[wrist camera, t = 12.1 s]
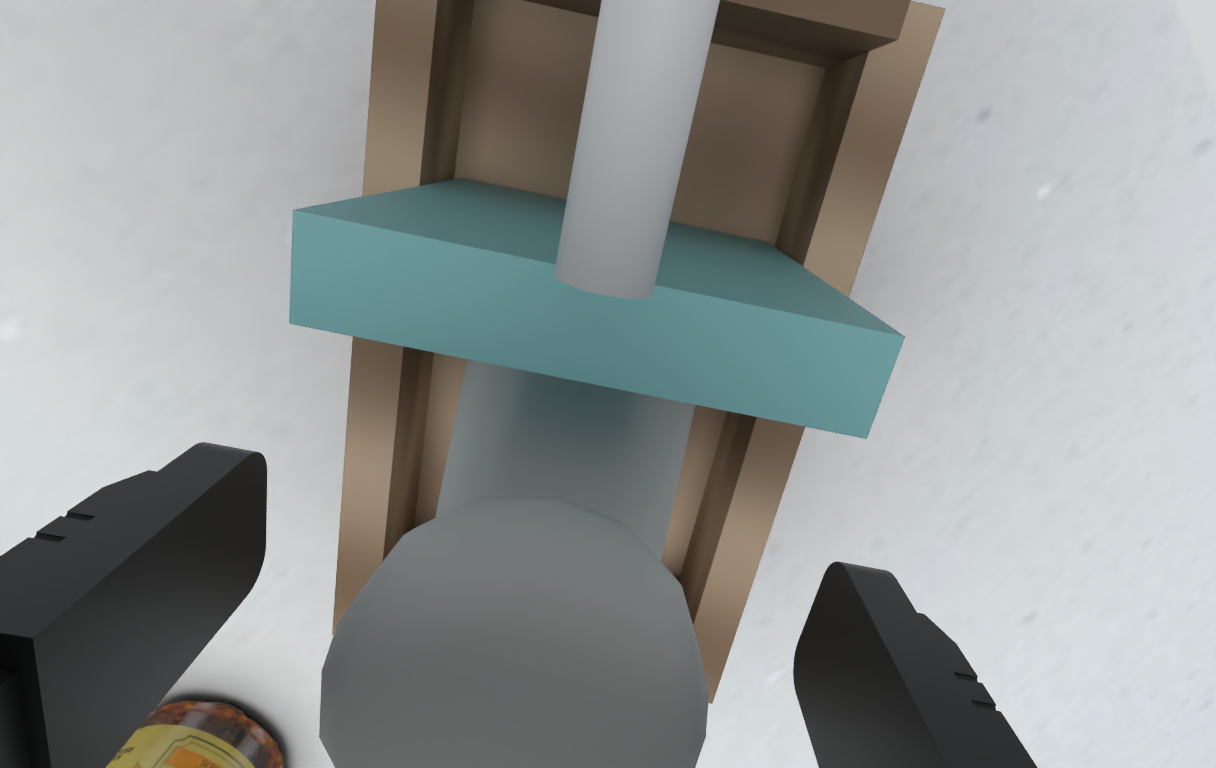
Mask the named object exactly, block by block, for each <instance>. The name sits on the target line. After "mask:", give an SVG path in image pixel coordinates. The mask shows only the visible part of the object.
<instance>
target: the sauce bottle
mask: <svg viewBox="0 0 1216 768" xmlns="http://www.w3.org/2000/svg"><path fill="white" fill-rule="evenodd" d="M106 768H284V763H283V754H282V752H281V751H280V750H279V749H278V743H277V741H275V740H274V739H273V738H272V737H271V736H270V734H269V733H268V732H267V731H265V730H264V729H263V728H262V727H261V726H260V725H259V724H258V723H256V722H255V721H254V720H252V719H250V718H248V717H247V716H246V715H245V714H244V712H243V711H242V710H239V709H237V708H236V707H234V706H233V705H229V704H226V703H222V702H203V701H187V700H184V701H179V702H175V703H170V704H167V705H165V706H163V707H161V708H159V709H157V710H155V711H153V712H151V713H150V714H149V716H148V717H147V718H146V719H145V720H144V722H143V723H142V724H141V725H140V727H139V728H138V729H137V730H136V731H135V733H134V734H133V735H132V736H131V737H130V739H129V740H128V741H127V742H126V744H125V745H124V746H123V747H122V748H121V750H120V751H119V752H118V753H117V755H116V756H115V757H114V758H113V759H112V761H111V762H110V763H109V764H108V765H107V767H106Z"/></svg>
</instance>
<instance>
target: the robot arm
mask: <svg viewBox="0 0 1216 768" xmlns="http://www.w3.org/2000/svg"><path fill="white" fill-rule="evenodd" d="M266 505H267V465H266V460H265V458H264V456H263V455H262V454H261V453H259V452H254V451H249V450H243V449H238V448H233V447H227V446H222V445H217V444H211V443H206V442H201V443H198V444H196V445H194V446H193V447H191V448H190V449H188V450H187V451H186V452H184V453H183V454H182V455H180V456H179V457H177V458H176V459H175V460H173V461H172V462H170V463H169V464H168V465H166V466H165V467H163V468H162V469H161V470H159V471H158V472H155V471H150V470H148V471H146V472H143V473H140V474H138V475H135V476H132V477H130V478H127V479H124V480H121V481H119V482H116V483H113V484H111V485H108V486H105V487H103V488H101V489H100V490H98V491H97V492H95V493H94V494H92V495H91V496H89V497H88V498H86V499H85V500H83V501H82V502H80V503H79V504H77V505H76V506H75V507H73V508H72V509H70V510H69V511H67V515H66V516H65V517H62V516H60V517H58V518H57V519H55V520H54V521H52V522H51V523H49V524H48V525H46V526H45V527H43V528H42V529H40V530H39V531H37V534H36V536H35V537H34V538H29V537H28V538H27V539H25V540H24V541H22V542H21V543H19V544H18V545H16V546H15V547H13V548H12V549H11V550H9V551H8V552H6V553H5V554H3V555H2V556H0V768H106V767H107V765H108V764H109V763H110V762H111V761H112V759H113V758H114V757H115V756H116V755H117V753H118V752H119V751H120V750H121V748H122V747H123V746H124V745H125V744H126V742H127V741H128V740H129V739H130V737H131V736H132V735H133V734H134V733H135V731H136V730H137V729H138V728H139V727H140V725H141V724H142V723H143V722H144V720H145V719H146V718H147V717H148V716H149V714H150V713H151V712H152V711H153V710H154V708H155V707H156V706H157V705H158V703H159V702H160V701H161V700H162V699H163V697H164V696H165V695H166V694H167V692H168V691H169V690H170V689H171V688H172V686H173V685H174V684H175V683H176V682H177V680H178V679H179V678H180V677H181V675H182V674H183V673H184V672H185V671H186V669H187V668H188V667H189V666H190V665H191V663H192V662H193V661H194V660H195V658H196V657H197V656H198V655H199V654H200V652H201V651H202V650H203V649H204V648H205V646H206V645H207V644H208V643H209V641H210V640H211V639H212V638H213V637H214V635H215V634H216V633H217V632H218V630H219V629H220V628H221V627H222V626H223V624H224V623H225V622H226V621H227V620H228V618H229V617H230V616H231V615H232V613H233V612H234V611H235V610H236V609H237V607H238V606H239V605H240V604H241V603H242V601H243V600H244V599H245V598H246V596H247V595H248V594H249V592H250V591H251V589H252V588H253V586H254V584H255V582H256V580H257V578H258V576H259V573H260V571H261V568H262V565H263V561H264V557H265V550H266ZM793 674H794V685H795V691H796V695H797V698H798V701H799V704H800V707H801V711H802V714H803V717H804V720H805V724H806V727H807V730H808V733H809V737H810V740H811V743H812V746H813V750H814V753H815V756H816V759H817V762H818V766H819V768H1037V766H1036V765H1035V763H1034V762H1033V760H1032V759H1031V757H1030V756H1029V754H1028V753H1027V751H1026V749H1025V748H1024V746H1023V745H1022V743H1021V742H1020V740H1019V739H1018V737H1017V736H1016V734H1015V733H1014V731H1013V730H1012V728H1011V727H1010V725H1009V724H1008V722H1007V720H1006V719H1005V717H1004V716H1003V714H1002V713H1001V712H1000V711H996V709H995V706H996V704H995V702H994V701H993V699H992V698H991V696H990V695H989V693H988V691H987V690H986V688H985V687H984V685H983V684H982V683H979V682H977V677H978V676H977V675H976V673H975V672H974V670H973V669H972V667H971V666H970V664H969V663H968V661H967V659H966V658H965V656H964V655H963V653H962V652H961V650H960V649H959V647H958V646H957V644H956V643H955V642H954V641H953V640H952V639H950V638H949V637H948V636H947V635H946V634H945V633H944V632H943V631H942V630H941V629H940V628H939V627H938V626H936V625H935V624H934V623H933V622H932V621H931V620H930V619H929V618H928V617H927V616H926V615H925V614H921V613H917V612H916V610H915V609H914V607H913V605H912V604H911V602H910V601H909V599H908V597H907V596H906V594H905V592H904V591H903V589H902V588H901V586H900V584H899V583H898V581H897V579H896V578H895V577H894V575H893V574H892V573H891V572H889V571H886V570H880V569H875V568H870V567H864V566H859V565H853V564H848V563H843V562H833V563H832V564H831V565H830V566H829V567H828V568H827V570H826V572H825V574H824V576H823V579H822V581H821V584H820V587H819V589H818V592H817V594H816V597H815V600H814V602H813V605H812V607H811V610H810V613H809V615H808V618H807V620H806V623H805V626H804V628H803V631H802V633H801V636H800V639H799V641H798V644H797V647H796V651H795V657H794V669H793Z"/></svg>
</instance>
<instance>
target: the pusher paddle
mask: <svg viewBox="0 0 1216 768" xmlns="http://www.w3.org/2000/svg"><path fill="white" fill-rule="evenodd" d="M719 2H720V0H602V1H601V7H600V13H599V18H598V24H597V30H596V35H595V41H594V47H593V53H592V58H591V64H590V70H589V76H588V81H587V87H586V93H585V99H584V104H583V110H582V116H581V122H580V127H579V133H578V139H577V145H576V150H575V156H574V162H573V168H572V173H571V179H570V185H569V191H568V196H567V200H566V199H562V198H557V197H552V196H548V195H543V194H538V193H533V192H529V191H524V190H519V189H514V188H510V187H505V186H500V185H495V184H491V183H486V182H481V181H477V180H472V179H467V178H459V179H453V180H448V181H443V182H438V183H432V184H427V185H422V186H417V187H411V188H406V189H401V190H396V191H390V192H385V193H380V194H375V195H369V196H364V197H359V198H354V199H348V200H343V201H338V202H333V203H327V204H322V205H317V206H312V207H306V208H301V209H296V210H293V230H292V260H291V290H290V319H289V323H290V324H295V325H300V326H305V327H310V328H315V329H320V330H325V331H330V332H335V333H340V334H345V335H350V336H355V337H360V338H365V339H370V340H375V341H380V342H385V343H390V344H395V345H400V346H405V347H410V348H415V349H420V350H425V351H430V352H435V353H440V354H445V355H450V356H455V357H460V358H465V359H470V360H475V361H480V362H485V363H490V364H495V365H500V366H505V367H510V368H515V369H520V370H525V371H530V372H535V373H540V374H545V375H550V376H555V377H560V378H565V379H570V380H575V381H580V382H585V383H590V384H595V385H600V386H605V387H610V388H615V389H620V390H625V391H630V392H635V393H640V394H645V395H650V396H655V397H660V398H665V399H670V400H675V401H680V402H685V403H690V404H695V405H700V406H705V407H710V408H715V409H720V410H725V411H730V412H735V413H740V414H745V415H750V416H755V417H760V418H765V419H770V420H775V421H780V422H785V423H790V424H795V425H800V426H805V427H810V428H815V429H820V430H825V431H830V432H835V433H840V434H845V435H850V436H855V437H860V438H865V439H867V437H868V434H869V431H870V429H871V426H872V423H873V421H874V418H875V415H876V413H877V410H878V407H879V404H880V402H881V399H882V396H883V394H884V391H885V388H886V386H887V383H888V380H889V378H890V375H891V372H892V370H893V367H894V364H895V362H896V359H897V356H898V354H899V351H900V348H901V346H902V343H903V340H904V338H905V336H903V335H902V334H900V333H899V332H897V331H896V330H894V329H893V328H892V327H890V326H889V325H887V324H886V323H884V322H883V321H881V320H880V319H878V318H877V317H876V316H874V315H873V314H871V313H870V312H868V311H867V310H865V309H864V308H862V307H861V306H860V305H858V304H857V303H855V302H854V301H852V300H851V299H849V298H848V297H846V296H845V295H844V294H842V293H841V292H839V291H838V290H836V289H835V288H833V287H832V286H830V285H829V284H828V283H826V282H825V281H823V280H822V279H820V278H819V277H817V276H816V275H814V274H813V273H812V272H810V271H809V270H807V269H806V268H804V267H803V266H801V265H800V264H798V263H797V262H796V261H794V260H793V259H791V258H790V257H788V256H787V255H785V254H784V253H783V252H781V251H780V250H778V249H777V248H775V247H774V246H772V245H771V244H769V243H768V242H765V241H760V240H756V239H751V238H746V237H741V236H737V235H732V234H727V233H723V232H718V231H713V230H708V229H704V228H699V227H694V226H689V225H685V224H680V223H675V222H671V221H669V220H670V216H671V211H672V207H673V202H674V198H675V194H676V189H677V185H678V181H679V176H680V172H681V168H682V163H683V159H684V155H685V150H686V146H687V141H688V137H689V133H690V128H691V124H692V120H693V115H694V111H695V107H696V102H697V98H698V93H699V89H700V85H701V80H702V76H703V72H704V67H705V63H706V59H707V54H708V50H709V45H710V41H711V37H712V32H713V28H714V24H715V19H716V15H717V11H718V6H719Z"/></svg>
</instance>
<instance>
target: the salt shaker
mask: <svg viewBox="0 0 1216 768" xmlns="http://www.w3.org/2000/svg"><path fill="white" fill-rule="evenodd" d="M694 410H695V404H690V403H685V402H680V401H675V400H670V399H665V398H660V397H655V396H650V395H645V394H640V393H635V392H630V391H625V390H620V389H615V388H610V387H605V386H600V385H595V384H590V383H585V382H580V381H575V380H570V379H565V378H560V377H555V376H550V375H545V374H540V373H535V372H530V371H525V370H520V369H515V368H510V367H505V366H500V365H495V364H490V363H485V362H480V361H475V360H470V359H467V363H466V367H465V372H464V377H463V382H462V387H461V392H460V397H459V402H458V407H457V412H456V417H455V422H454V427H453V432H452V437H451V442H450V447H449V452H448V457H447V462H446V466H445V471H444V476H443V481H442V486H441V491H440V496H439V501H438V506H437V511H436V516H435V518H434V519H432V520H430V521H428V522H426V523H424V524H422V525H420V526H418V527H416V528H414V529H413V530H411V531H409V532H408V533H406V534H404V535H403V536H402V537H401V539H400V540H399V541H398V543H397V544H396V545H395V546H394V548H393V549H392V550H391V552H390V553H389V554H388V556H387V557H386V558H385V560H384V561H383V562H382V563H381V565H380V566H379V567H378V569H377V570H376V571H375V573H374V574H373V575H372V576H371V578H370V579H369V580H368V582H367V583H366V584H365V586H364V587H363V588H362V590H361V591H360V593H359V594H358V595H357V597H356V598H355V600H354V601H353V603H352V604H351V605H350V607H349V608H348V610H347V611H346V613H345V614H344V615H343V617H342V618H341V620H340V621H339V623H338V624H337V627H336V630H335V633H334V636H333V639H332V642H331V645H330V648H329V651H328V654H327V657H326V660H325V663H324V666H323V669H322V681H321V707H320V733H319V737H320V739H321V741H322V743H323V745H324V747H325V749H326V751H327V753H328V755H329V756H330V758H331V760H332V762H333V764H334V766H335V768H695V766H696V763H697V760H698V757H699V754H700V751H701V749H702V746H703V743H704V740H705V737H706V723H707V710H708V696H709V686H708V682H707V678H706V674H705V669H704V665H703V661H702V657H701V653H700V649H699V645H698V641H697V638H696V634H695V631H694V627H693V624H692V620H691V617H690V613H689V610H688V606H687V603H686V599H685V595H684V592H683V588H682V585H681V584H680V583H679V582H678V580H677V579H676V578H675V577H674V575H673V574H672V573H671V572H670V571H669V570H668V569H667V567H666V566H665V565H664V564H663V563H662V562H661V558H662V553H663V549H664V544H665V540H666V535H667V531H668V526H669V522H670V517H671V513H672V508H673V504H674V499H675V495H676V490H677V486H678V481H679V477H680V472H681V468H682V464H683V459H684V455H685V450H686V446H687V441H688V437H689V432H690V428H691V423H692V419H693V414H694Z"/></svg>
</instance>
